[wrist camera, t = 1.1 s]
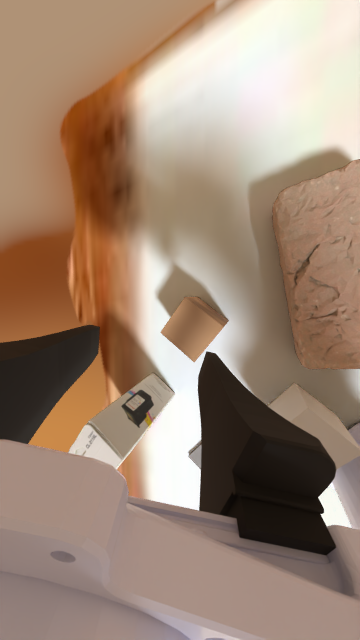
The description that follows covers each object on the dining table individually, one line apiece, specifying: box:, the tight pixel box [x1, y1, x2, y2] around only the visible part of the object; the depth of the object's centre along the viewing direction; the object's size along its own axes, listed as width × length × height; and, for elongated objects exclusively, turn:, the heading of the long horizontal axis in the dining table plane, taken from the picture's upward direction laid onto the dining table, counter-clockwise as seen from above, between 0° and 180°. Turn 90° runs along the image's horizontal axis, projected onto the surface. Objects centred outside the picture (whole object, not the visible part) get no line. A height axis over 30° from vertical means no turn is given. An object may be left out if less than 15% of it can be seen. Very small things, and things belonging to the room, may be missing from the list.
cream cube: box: [268, 383, 360, 469], centre depth 18 cm, size 5×5×5 cm
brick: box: [272, 159, 360, 369], centre depth 16 cm, size 17×8×5 cm, turn 14°
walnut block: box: [160, 297, 228, 362], centre depth 21 cm, size 5×5×5 cm
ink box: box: [68, 373, 175, 469], centre depth 22 cm, size 9×5×12 cm, turn 146°
